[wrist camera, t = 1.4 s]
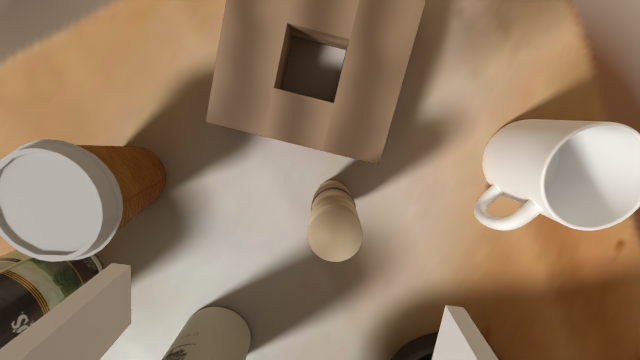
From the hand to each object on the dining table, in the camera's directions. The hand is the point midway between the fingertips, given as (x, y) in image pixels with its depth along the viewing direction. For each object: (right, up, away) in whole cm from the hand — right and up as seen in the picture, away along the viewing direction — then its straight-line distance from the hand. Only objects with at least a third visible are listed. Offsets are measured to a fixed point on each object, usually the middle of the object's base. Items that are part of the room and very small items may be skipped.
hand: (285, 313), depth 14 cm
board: (+1, +17, +19) cm, 25 cm away
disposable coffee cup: (-18, +6, +22) cm, 29 cm away
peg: (+3, +4, +22) cm, 22 cm away
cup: (+21, +7, +21) cm, 31 cm away
